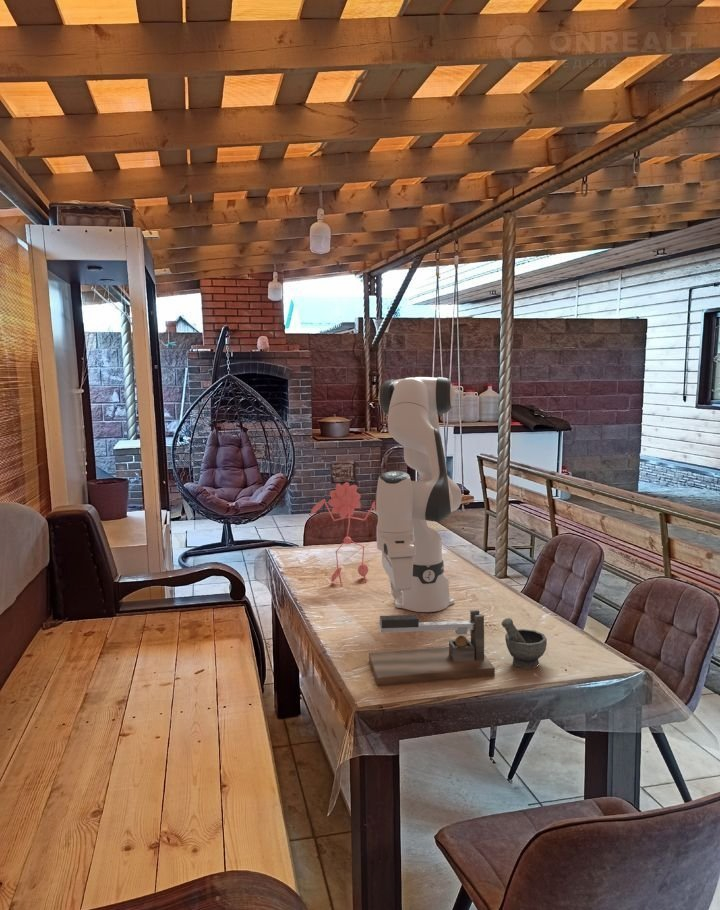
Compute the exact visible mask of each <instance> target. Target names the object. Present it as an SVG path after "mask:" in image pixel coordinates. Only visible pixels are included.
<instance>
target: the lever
mask: <svg viewBox="0 0 720 910" xmlns="http://www.w3.org/2000/svg"><path fill="white" fill-rule="evenodd" d="M470 630H475V621H470V620H455V621H453V620H451V621H449V620H447V621H425V622H424V621H421V622H420V619H419V617H418V616H417V614H401V615H400V614H397V615H395V614H393V615H379V631H380V633H381V634H382V633H383V634H384V633H410V632H414V633H415V632H441V631H443V632H444V631H455V633H456V635H458V636H462V635H468V631H470Z"/></svg>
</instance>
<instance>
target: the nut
mask: <svg viewBox="0 0 720 910" xmlns="http://www.w3.org/2000/svg"><path fill="white" fill-rule="evenodd" d="M467 639H468V638H467V637H466V636H464V635H458V636H457V637H456V638H455V639H454V640H455V643H456V645H457V647H466V646H467V644H468V641H467Z"/></svg>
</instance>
